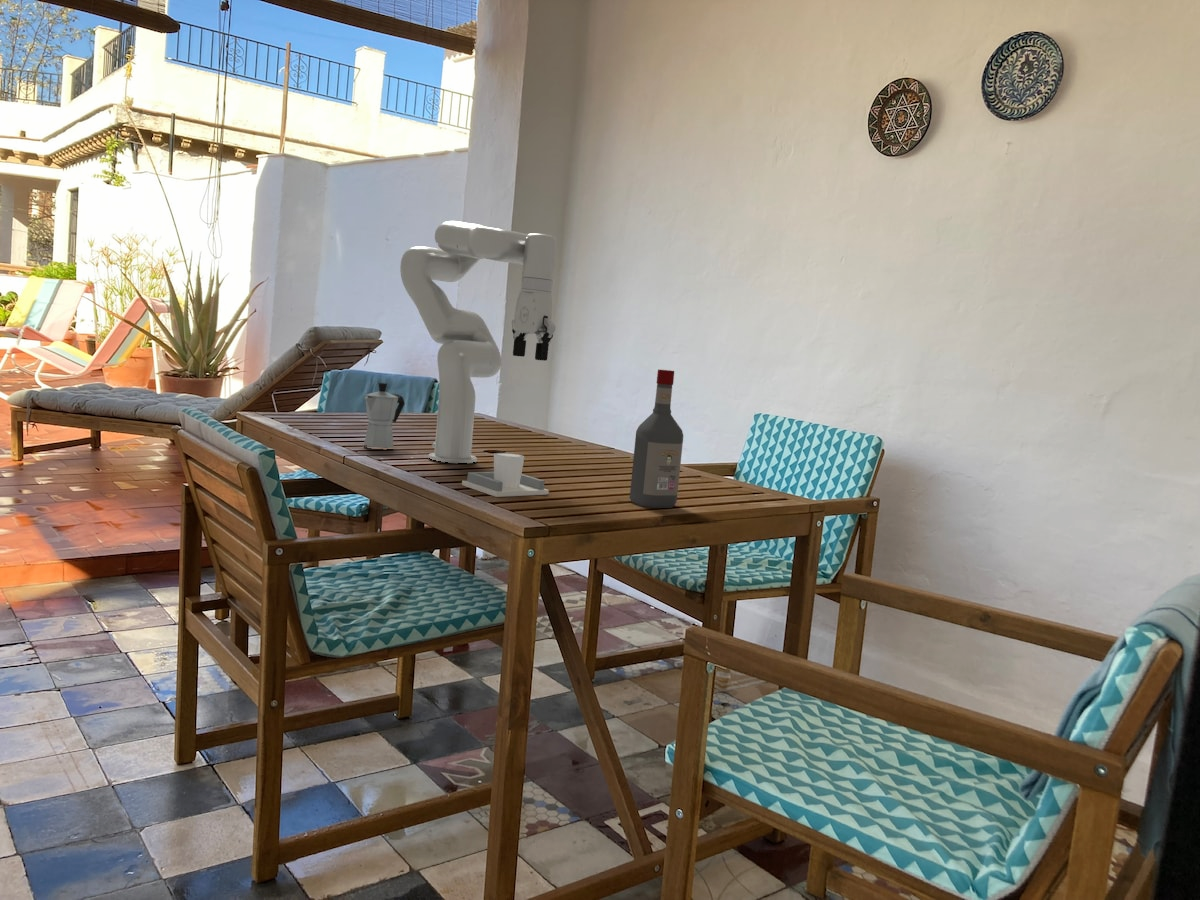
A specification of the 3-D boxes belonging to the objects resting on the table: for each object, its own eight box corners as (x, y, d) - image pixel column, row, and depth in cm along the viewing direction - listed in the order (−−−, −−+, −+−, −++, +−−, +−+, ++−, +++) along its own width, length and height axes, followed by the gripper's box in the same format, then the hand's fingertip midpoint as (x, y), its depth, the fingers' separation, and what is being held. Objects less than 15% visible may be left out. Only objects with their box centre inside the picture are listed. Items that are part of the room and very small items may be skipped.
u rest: (461, 485, 212) (462, 471, 211) (513, 483, 221) (514, 470, 220) (495, 496, 201) (496, 483, 201) (548, 494, 210) (549, 481, 210)
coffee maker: (373, 451, 251) (377, 384, 249) (350, 446, 255) (353, 380, 253) (412, 448, 263) (416, 384, 261) (389, 444, 268) (393, 381, 266)
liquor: (681, 508, 208) (695, 373, 205) (646, 508, 204) (660, 370, 200) (658, 499, 216) (671, 369, 213) (624, 500, 212) (637, 367, 208)
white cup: (485, 483, 210) (487, 452, 209) (508, 482, 215) (510, 452, 214) (505, 489, 206) (507, 457, 205) (528, 487, 211) (530, 456, 210)
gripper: (504, 283, 229) (497, 353, 231) (544, 286, 216) (536, 360, 218) (529, 287, 234) (523, 355, 236) (570, 290, 220) (562, 362, 223)
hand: (529, 358), depth 227 cm, fingers open, 9 cm apart
